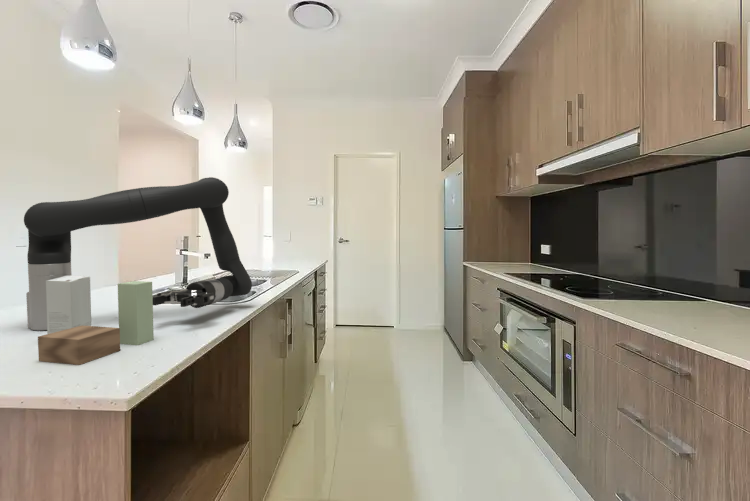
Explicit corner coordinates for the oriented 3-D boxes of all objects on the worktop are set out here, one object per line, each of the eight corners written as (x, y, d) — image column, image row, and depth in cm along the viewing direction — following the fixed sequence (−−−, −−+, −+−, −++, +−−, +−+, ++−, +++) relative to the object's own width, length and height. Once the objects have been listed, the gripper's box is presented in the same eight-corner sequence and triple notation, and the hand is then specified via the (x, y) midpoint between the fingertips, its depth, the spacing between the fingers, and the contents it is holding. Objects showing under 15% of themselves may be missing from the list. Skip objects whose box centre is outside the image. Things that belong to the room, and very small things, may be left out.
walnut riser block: (38, 361, 86) (37, 336, 86) (82, 347, 96) (81, 325, 96) (79, 364, 84) (78, 339, 84) (120, 350, 94) (119, 328, 94)
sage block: (119, 343, 99) (117, 283, 99) (136, 338, 104) (134, 281, 103) (137, 345, 98) (136, 284, 97) (153, 339, 103) (152, 281, 102)
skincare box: (68, 333, 108) (65, 275, 107) (93, 333, 109) (91, 275, 108) (46, 343, 100) (43, 279, 99) (73, 342, 100) (71, 279, 100)
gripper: (184, 279, 128) (143, 286, 113) (226, 281, 125) (191, 288, 109) (184, 304, 129) (144, 315, 113) (227, 306, 126) (191, 318, 110)
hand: (167, 302), depth 111 cm, fingers open, 8 cm apart
